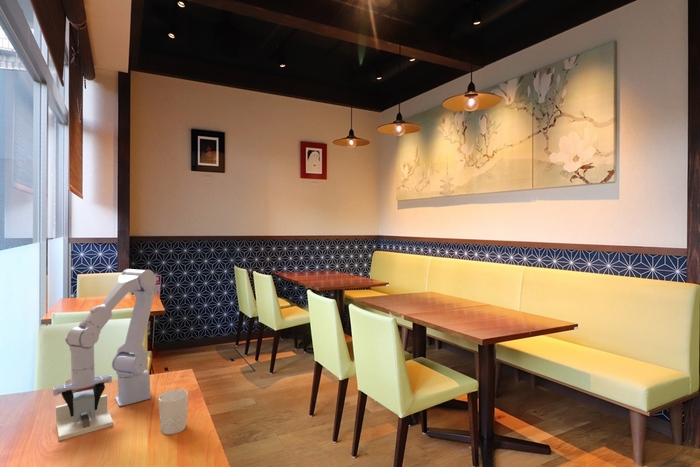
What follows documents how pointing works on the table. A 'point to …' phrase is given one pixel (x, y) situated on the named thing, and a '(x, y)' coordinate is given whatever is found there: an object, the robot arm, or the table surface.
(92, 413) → the block
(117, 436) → the table surface
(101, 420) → the board
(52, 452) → the table surface
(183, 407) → the white cup
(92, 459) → the table surface
